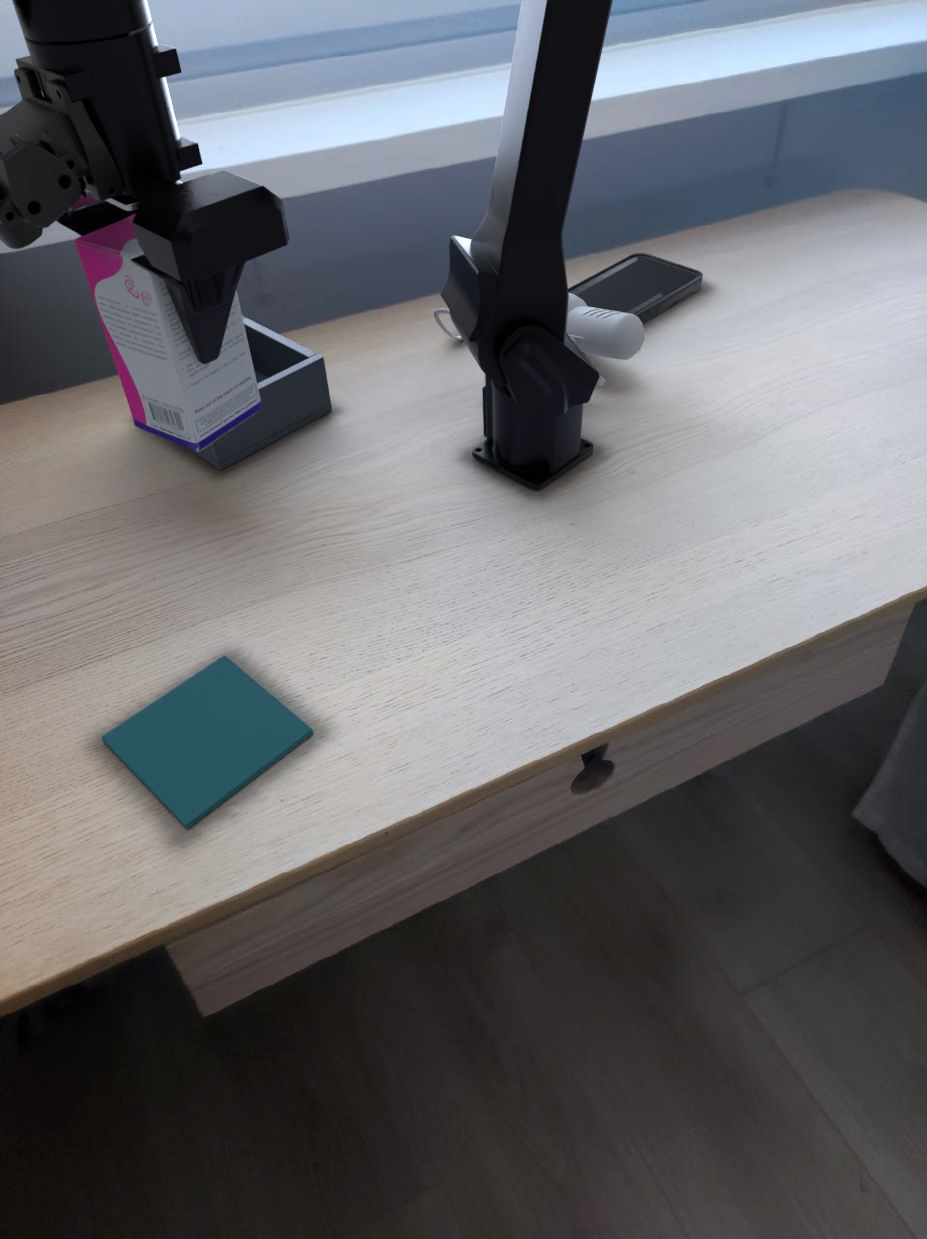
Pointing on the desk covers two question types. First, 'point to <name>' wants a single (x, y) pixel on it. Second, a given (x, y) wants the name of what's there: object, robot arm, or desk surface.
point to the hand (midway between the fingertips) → (178, 342)
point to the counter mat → (206, 739)
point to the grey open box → (274, 396)
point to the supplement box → (165, 348)
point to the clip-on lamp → (595, 331)
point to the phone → (639, 286)
